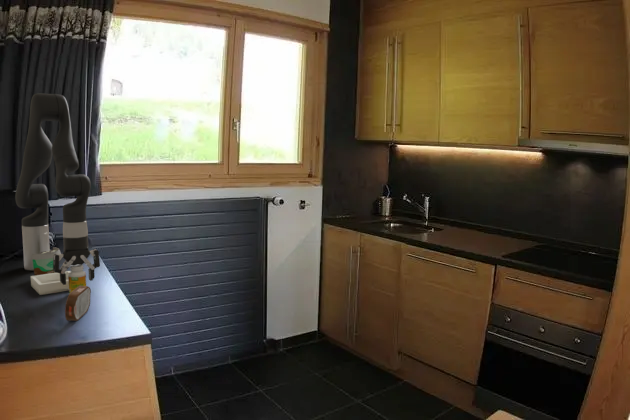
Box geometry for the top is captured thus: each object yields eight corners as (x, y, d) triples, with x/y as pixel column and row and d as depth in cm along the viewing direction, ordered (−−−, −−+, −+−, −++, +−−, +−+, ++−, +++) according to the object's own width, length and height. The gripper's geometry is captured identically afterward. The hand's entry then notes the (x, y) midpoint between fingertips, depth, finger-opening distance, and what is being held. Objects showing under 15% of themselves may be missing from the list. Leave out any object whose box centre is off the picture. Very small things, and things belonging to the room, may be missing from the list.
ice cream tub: (47, 282, 194) (45, 254, 192) (32, 280, 195) (30, 253, 194) (69, 273, 206) (68, 247, 204) (54, 272, 207) (53, 246, 206)
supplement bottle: (69, 296, 177) (68, 268, 176) (68, 292, 182) (67, 264, 181) (87, 295, 180) (86, 266, 178) (85, 290, 185) (84, 263, 183)
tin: (82, 308, 167) (81, 281, 166) (93, 308, 167) (92, 281, 166) (64, 325, 152) (63, 296, 151) (75, 325, 152) (74, 296, 151)
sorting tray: (31, 285, 189) (30, 276, 188) (70, 280, 197) (69, 270, 196) (39, 295, 179) (39, 284, 178) (80, 288, 187) (80, 278, 186)
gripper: (94, 230, 185) (95, 276, 188) (49, 235, 176) (51, 283, 179) (101, 234, 180) (102, 281, 182) (55, 238, 171) (57, 288, 173)
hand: (77, 282), depth 180 cm, fingers open, 8 cm apart
